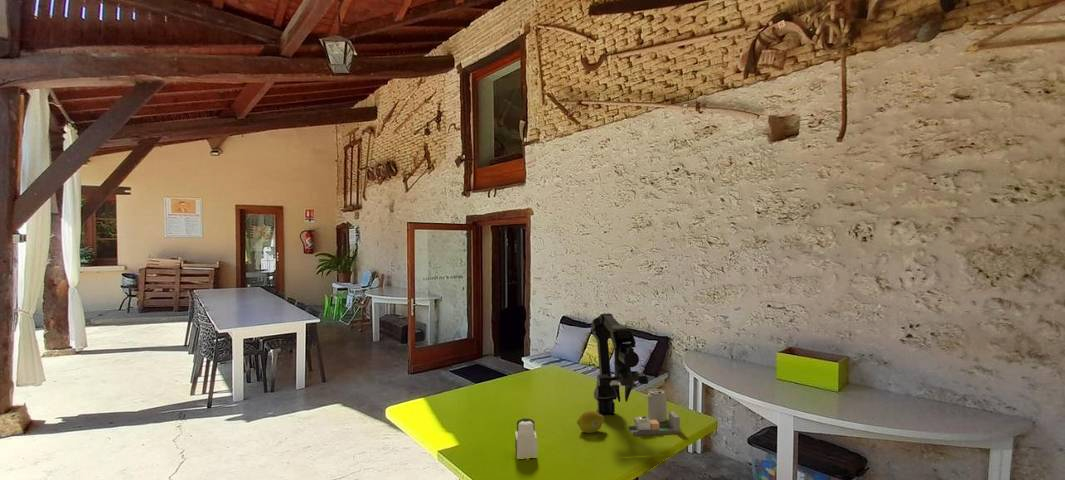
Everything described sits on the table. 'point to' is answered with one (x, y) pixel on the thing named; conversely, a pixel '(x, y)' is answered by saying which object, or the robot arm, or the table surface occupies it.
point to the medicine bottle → (525, 439)
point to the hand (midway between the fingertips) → (622, 401)
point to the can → (657, 405)
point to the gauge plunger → (642, 424)
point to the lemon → (590, 421)
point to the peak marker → (655, 425)
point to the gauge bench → (662, 426)
